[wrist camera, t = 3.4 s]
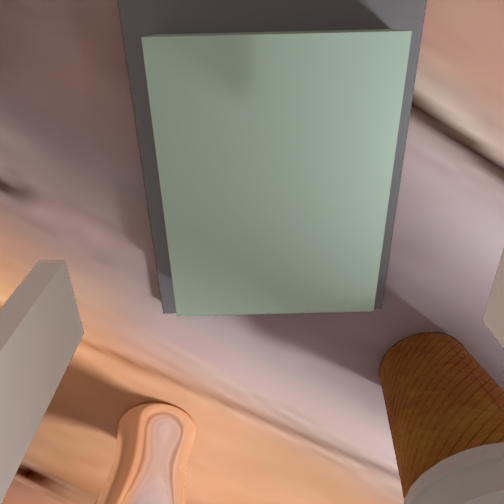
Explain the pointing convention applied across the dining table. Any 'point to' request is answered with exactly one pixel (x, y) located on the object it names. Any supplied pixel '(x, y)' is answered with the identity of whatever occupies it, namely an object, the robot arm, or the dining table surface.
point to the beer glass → (150, 456)
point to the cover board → (275, 165)
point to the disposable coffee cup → (444, 422)
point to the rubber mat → (255, 20)
